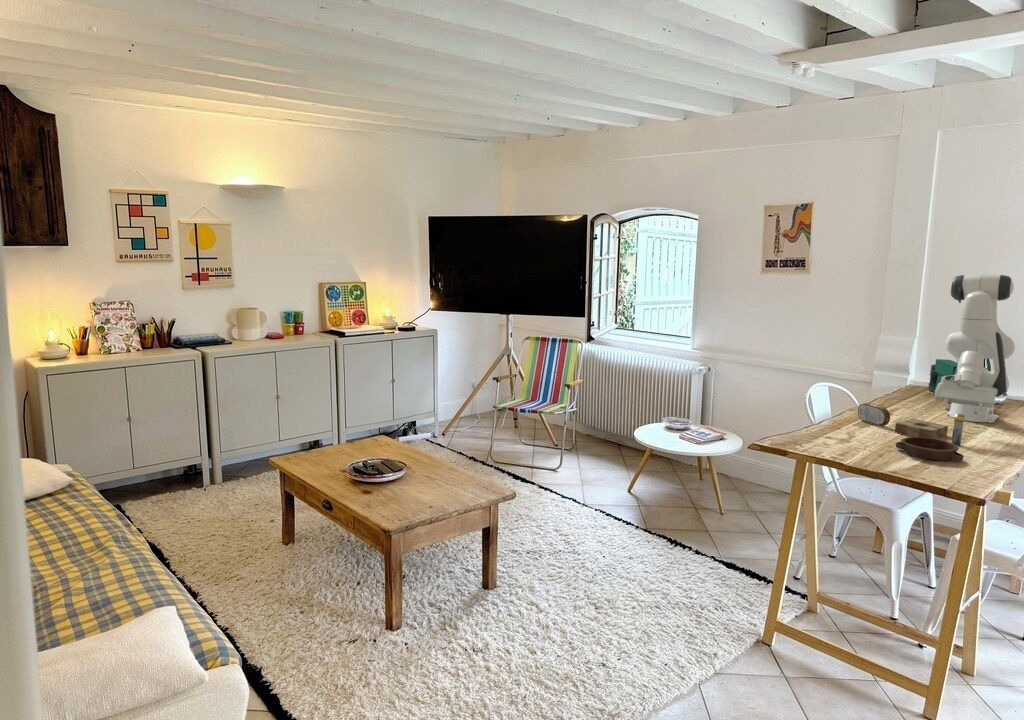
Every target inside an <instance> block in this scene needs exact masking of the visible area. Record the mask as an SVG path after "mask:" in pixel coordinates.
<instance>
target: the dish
mask: <svg viewBox="0 0 1024 720" xmlns="http://www.w3.org/2000/svg"><path fill="white" fill-rule="evenodd" d="M895 447H896V448H897V449H899V450H903V451H905V452H906V453H907V454H908V455H910V456H912V457H913V456H914V457H915V456H916V458H918V457H919V459H923V460H929V461H936V460H937V461H938V462H941V461H942V462H944V461H947V462H948V461H949V460H955V461H963V459H964V457H965V456H964V455H963V454H961V453H960V452H958V451H959V450H960V448H959V446H956V445H954V444H952V442H949V441H946V440H941V439H939V438H938V439H933V438H924V437H912V436H909V437H905V438H902V439H900V441H897V442H895Z"/></svg>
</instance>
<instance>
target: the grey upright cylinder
mask: <svg viewBox="0 0 1024 720" xmlns="http://www.w3.org/2000/svg"><path fill="white" fill-rule="evenodd" d="M953 419H954V420H953V429H952V436H951V443H952V444H954V445H956V446H957V447H959V446H961V444H962V438H963V437H962V435H963V430H964V429H963V427H964V422H965V420H964V415H962V414H955V418H953Z"/></svg>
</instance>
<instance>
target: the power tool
mask: <svg viewBox="0 0 1024 720" xmlns="http://www.w3.org/2000/svg"><path fill="white" fill-rule="evenodd" d="M934 365H935V372H937V373H939V374H938V378H937V382H936V386H935V390H933V395H932V394H930V397H931V396H933V397H934V394H935V391H936V388H937V386H938V384H939V383H940V382H941V380H942V377H943V376H950V375H954V373H955V370H956V369H957V366H958V362H957V361H954V360H951V359H944V358H943V359H939V358H937V359H935V363H934ZM948 404H952V403H949V402H948Z"/></svg>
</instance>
